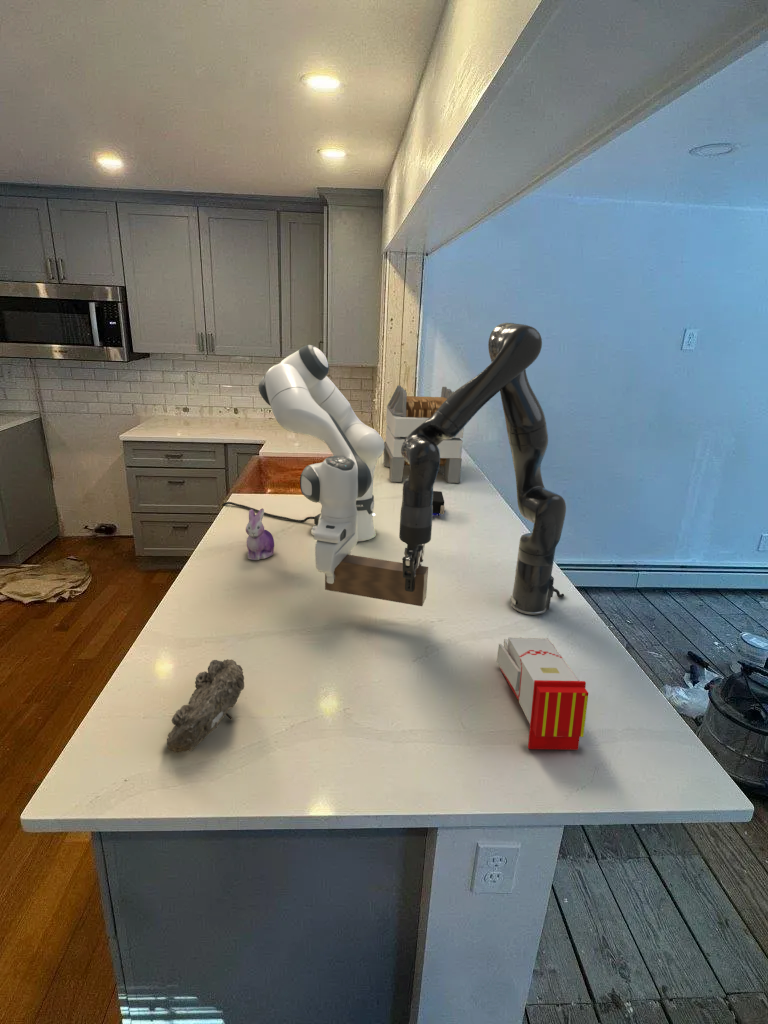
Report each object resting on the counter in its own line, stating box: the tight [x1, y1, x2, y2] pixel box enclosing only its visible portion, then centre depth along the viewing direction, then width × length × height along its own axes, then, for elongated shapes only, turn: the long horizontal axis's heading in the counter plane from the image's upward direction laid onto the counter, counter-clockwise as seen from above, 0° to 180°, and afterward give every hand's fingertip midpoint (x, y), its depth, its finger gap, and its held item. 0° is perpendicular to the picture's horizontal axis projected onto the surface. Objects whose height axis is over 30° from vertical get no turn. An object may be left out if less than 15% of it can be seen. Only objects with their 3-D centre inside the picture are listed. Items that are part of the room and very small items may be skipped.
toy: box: [496, 637, 589, 751], centre depth 115 cm, size 12×13×30 cm
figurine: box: [245, 508, 275, 561], centre depth 176 cm, size 9×10×15 cm
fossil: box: [166, 658, 245, 754], centre depth 106 cm, size 22×10×15 cm
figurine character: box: [432, 490, 445, 519], centre depth 220 cm, size 7×8×15 cm
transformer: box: [383, 384, 465, 484], centre depth 268 cm, size 34×33×41 cm
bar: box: [324, 554, 429, 607], centre depth 141 cm, size 25×5×8 cm, turn 74°
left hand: (337, 574), depth 143 cm, fingers open, 8 cm apart
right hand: (412, 585), depth 139 cm, fingers closed on bar, 4 cm apart
